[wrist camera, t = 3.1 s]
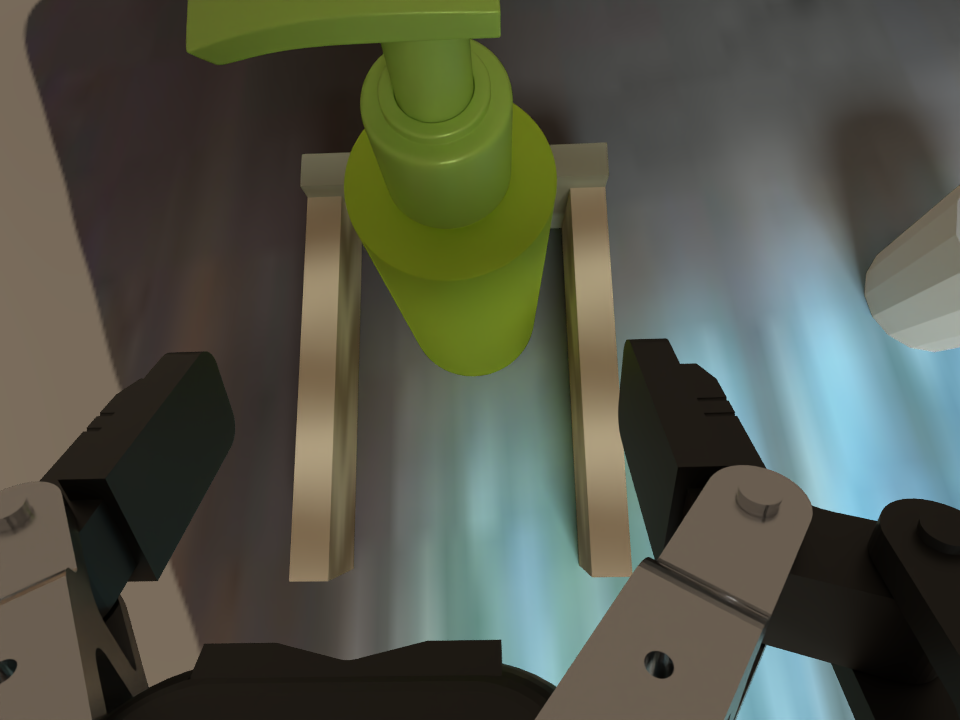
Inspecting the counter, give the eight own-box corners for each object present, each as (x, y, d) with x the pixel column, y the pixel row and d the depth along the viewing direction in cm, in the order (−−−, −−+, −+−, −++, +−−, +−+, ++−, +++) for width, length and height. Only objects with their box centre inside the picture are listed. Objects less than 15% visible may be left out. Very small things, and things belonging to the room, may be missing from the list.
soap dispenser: (389, 266, 30) (179, -158, 11) (528, 255, 30) (575, -194, 10) (393, 382, 29) (161, 142, 9) (539, 371, 29) (613, 105, 9)
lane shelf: (333, 208, 31) (302, 154, 26) (590, 199, 30) (606, 142, 26) (320, 569, 27) (279, 585, 22) (613, 564, 27) (638, 580, 22)
